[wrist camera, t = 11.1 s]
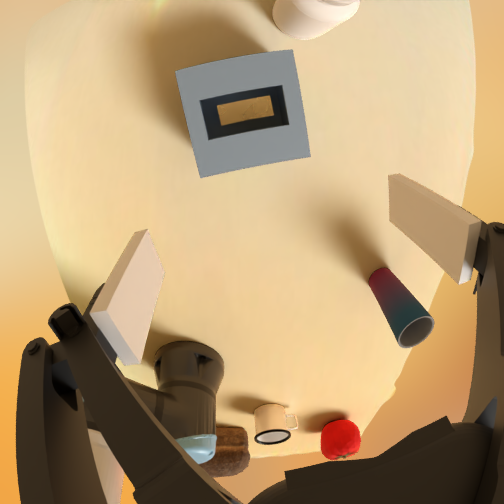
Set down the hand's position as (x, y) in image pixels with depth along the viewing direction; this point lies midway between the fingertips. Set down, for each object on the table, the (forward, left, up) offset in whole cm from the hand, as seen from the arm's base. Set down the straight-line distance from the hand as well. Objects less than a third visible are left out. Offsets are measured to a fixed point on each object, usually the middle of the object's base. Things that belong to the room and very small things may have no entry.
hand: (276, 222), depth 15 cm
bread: (-31, -77, -27) cm, 88 cm away
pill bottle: (+11, +18, -27) cm, 34 cm away
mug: (-6, -67, -27) cm, 73 cm away
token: (0, +5, -26) cm, 27 cm away
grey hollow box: (0, +5, -27) cm, 27 cm away
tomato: (+12, -87, -27) cm, 92 cm away
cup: (+20, -28, -27) cm, 44 cm away
